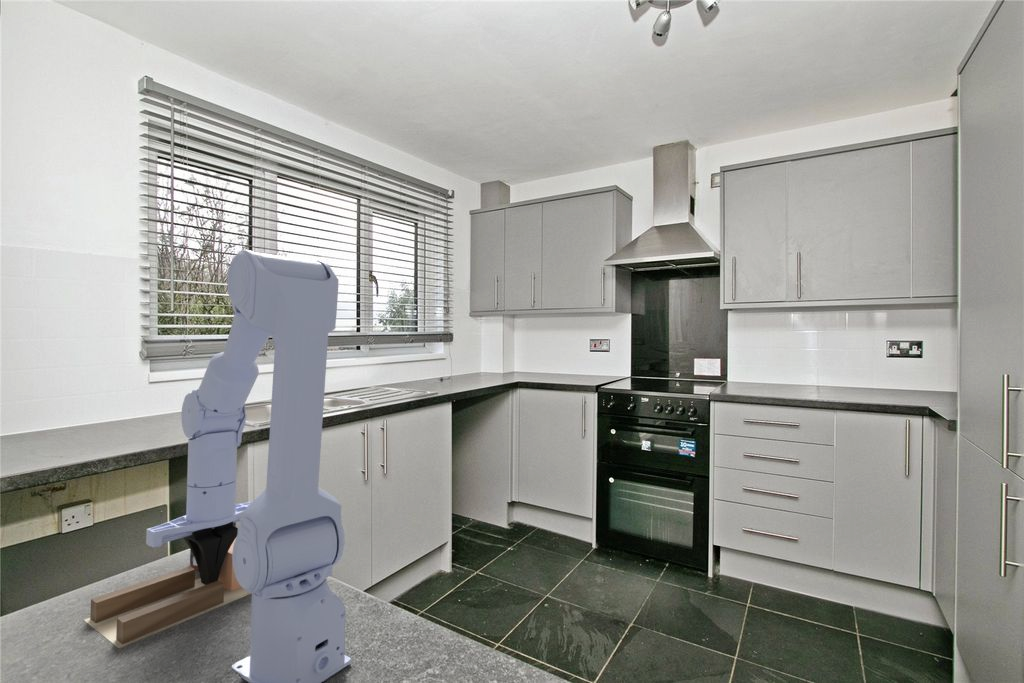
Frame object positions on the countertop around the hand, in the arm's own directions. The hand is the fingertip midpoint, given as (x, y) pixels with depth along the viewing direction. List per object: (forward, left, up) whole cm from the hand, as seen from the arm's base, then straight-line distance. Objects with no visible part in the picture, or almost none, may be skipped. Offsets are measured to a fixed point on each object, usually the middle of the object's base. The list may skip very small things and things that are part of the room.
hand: (209, 582), depth 68 cm
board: (0, +2, -2) cm, 3 cm away
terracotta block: (0, -4, -1) cm, 4 cm away
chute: (0, +6, -2) cm, 6 cm away
